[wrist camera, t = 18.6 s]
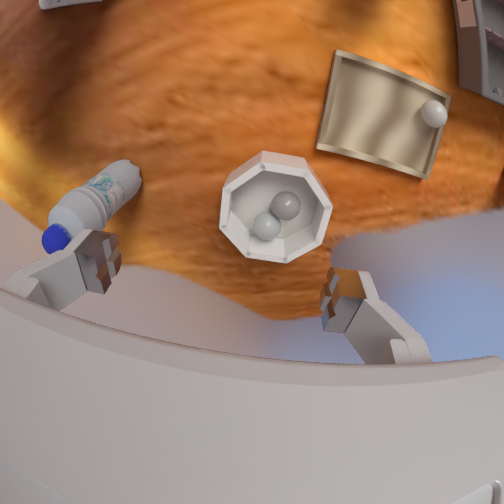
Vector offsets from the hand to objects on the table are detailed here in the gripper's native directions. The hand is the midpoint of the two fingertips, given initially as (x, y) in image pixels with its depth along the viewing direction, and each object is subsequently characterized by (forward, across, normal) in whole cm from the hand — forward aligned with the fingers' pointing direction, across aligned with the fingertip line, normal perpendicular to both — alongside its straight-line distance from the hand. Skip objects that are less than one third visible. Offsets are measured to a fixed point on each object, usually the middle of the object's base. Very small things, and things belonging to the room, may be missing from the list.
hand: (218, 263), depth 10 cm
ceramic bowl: (+29, -4, +10) cm, 31 cm away
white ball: (+29, -23, -9) cm, 38 cm away
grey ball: (+28, -5, +11) cm, 30 cm away
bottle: (+29, +19, +9) cm, 36 cm away
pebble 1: (+26, -4, +11) cm, 29 cm away
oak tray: (+29, -17, -6) cm, 34 cm away
